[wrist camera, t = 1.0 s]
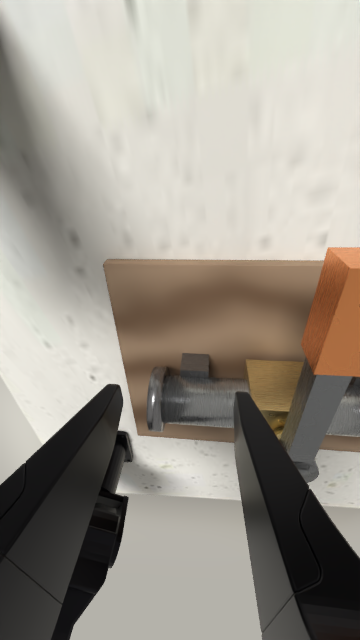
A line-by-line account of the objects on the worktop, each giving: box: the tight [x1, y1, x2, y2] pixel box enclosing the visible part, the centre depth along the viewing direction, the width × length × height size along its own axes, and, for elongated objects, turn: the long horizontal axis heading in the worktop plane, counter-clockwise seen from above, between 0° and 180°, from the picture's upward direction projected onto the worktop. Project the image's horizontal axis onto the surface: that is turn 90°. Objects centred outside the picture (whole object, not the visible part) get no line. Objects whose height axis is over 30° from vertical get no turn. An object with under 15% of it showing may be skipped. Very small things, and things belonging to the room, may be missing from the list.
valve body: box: [147, 353, 360, 439], centre depth 22 cm, size 5×21×7 cm, turn 92°
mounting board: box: [103, 259, 360, 452], centre depth 25 cm, size 22×28×1 cm
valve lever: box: [279, 248, 360, 483], centre depth 15 cm, size 16×3×2 cm, turn 2°
